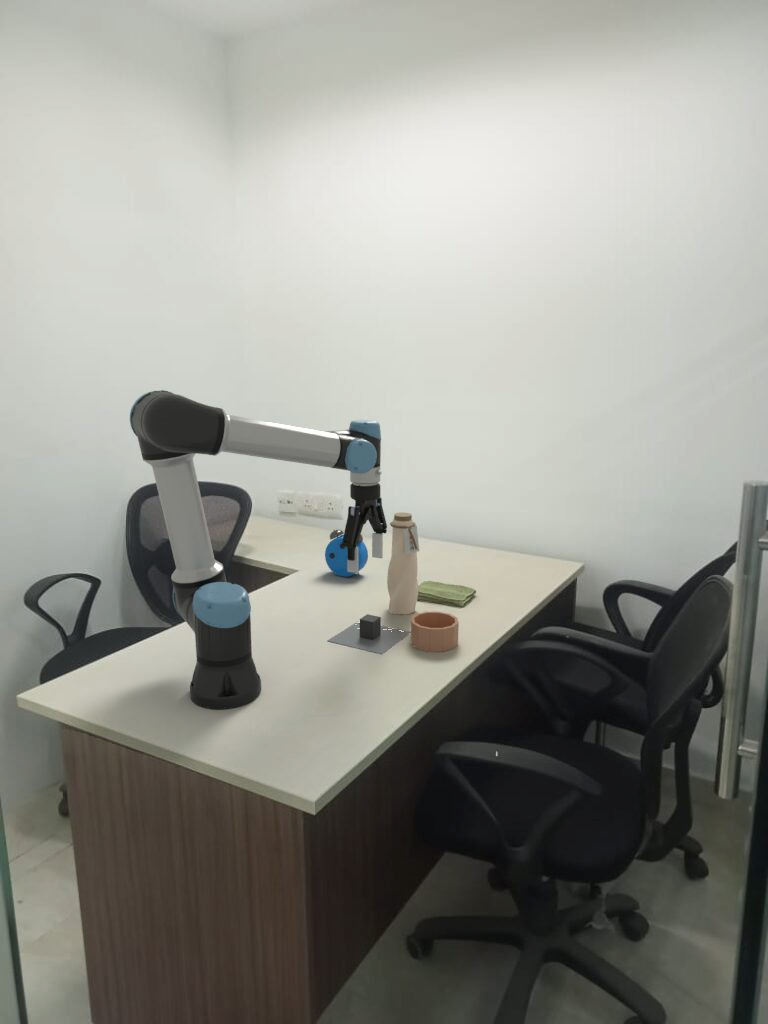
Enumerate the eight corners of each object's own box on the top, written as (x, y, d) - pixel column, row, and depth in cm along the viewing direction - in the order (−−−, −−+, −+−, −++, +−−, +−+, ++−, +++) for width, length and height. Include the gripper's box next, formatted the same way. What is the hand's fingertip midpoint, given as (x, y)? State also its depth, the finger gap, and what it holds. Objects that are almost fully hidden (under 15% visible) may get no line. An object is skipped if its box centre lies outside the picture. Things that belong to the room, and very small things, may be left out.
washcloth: (463, 609, 208) (464, 599, 207) (407, 600, 215) (407, 590, 214) (477, 595, 219) (477, 585, 218) (423, 587, 226) (423, 577, 226)
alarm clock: (368, 574, 237) (368, 530, 233) (360, 580, 231) (360, 535, 228) (332, 569, 241) (332, 526, 238) (324, 575, 236) (323, 530, 232)
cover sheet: (382, 656, 177) (382, 634, 175) (327, 643, 184) (327, 622, 183) (411, 634, 190) (411, 613, 189) (359, 623, 198) (359, 603, 197)
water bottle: (427, 610, 205) (429, 515, 199) (406, 619, 199) (408, 520, 192) (400, 601, 212) (402, 509, 206) (379, 609, 206) (380, 514, 199)
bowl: (445, 655, 176) (446, 632, 175) (403, 645, 182) (403, 623, 180) (464, 638, 186) (465, 616, 185) (423, 629, 192) (423, 608, 190)
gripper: (355, 493, 167) (355, 580, 172) (399, 475, 188) (399, 553, 193) (327, 490, 170) (328, 576, 175) (374, 473, 192) (374, 550, 197)
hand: (365, 564), depth 184 cm, fingers open, 13 cm apart
